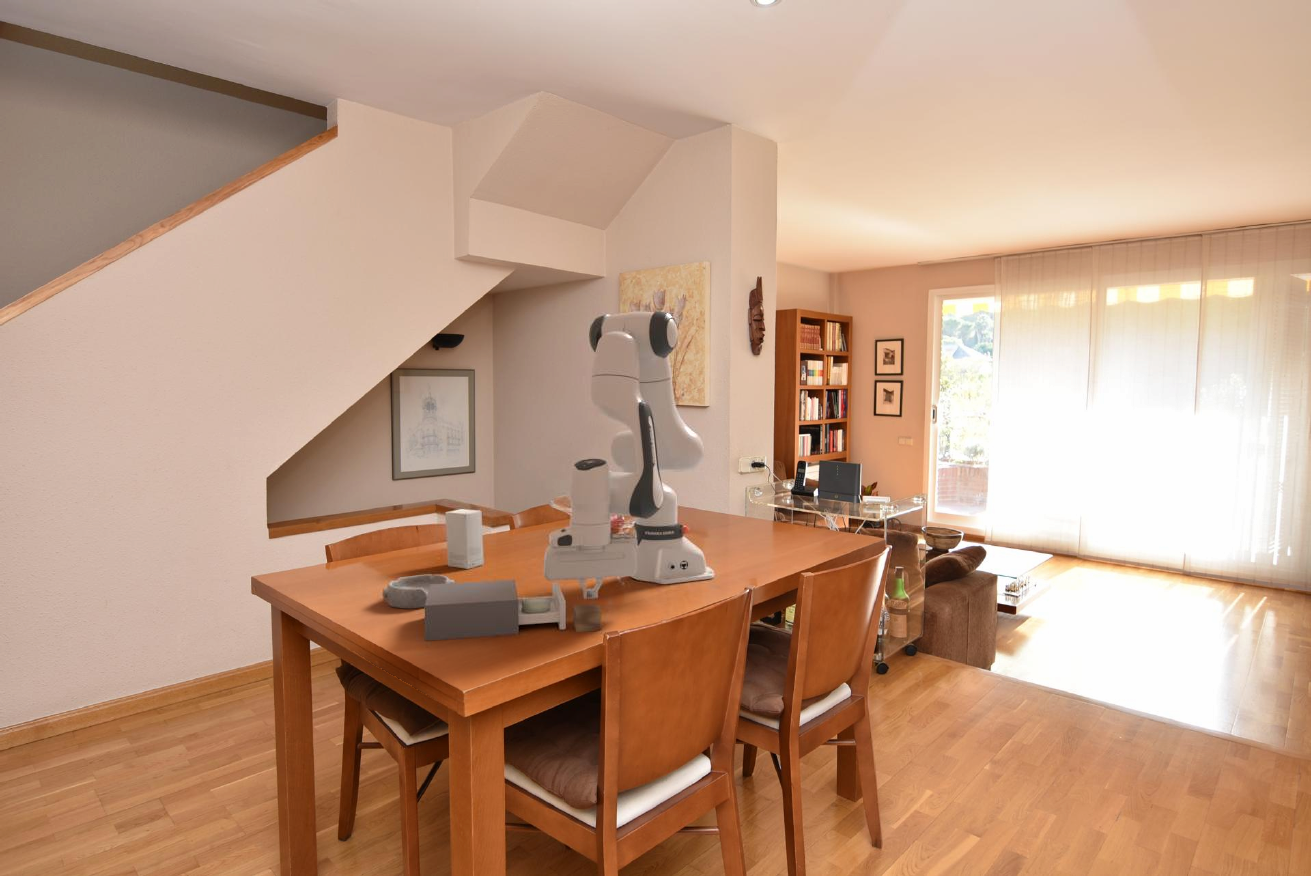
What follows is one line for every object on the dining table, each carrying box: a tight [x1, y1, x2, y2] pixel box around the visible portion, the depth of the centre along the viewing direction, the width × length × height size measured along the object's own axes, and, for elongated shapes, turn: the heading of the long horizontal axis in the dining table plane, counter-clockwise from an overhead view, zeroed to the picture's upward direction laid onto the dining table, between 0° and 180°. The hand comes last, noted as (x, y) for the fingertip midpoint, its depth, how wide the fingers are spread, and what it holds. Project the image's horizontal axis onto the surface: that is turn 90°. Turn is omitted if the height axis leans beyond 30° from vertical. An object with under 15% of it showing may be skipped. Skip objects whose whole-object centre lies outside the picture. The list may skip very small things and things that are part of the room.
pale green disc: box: [522, 596, 550, 614], centre depth 153 cm, size 6×6×2 cm
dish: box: [382, 573, 455, 609], centre depth 167 cm, size 14×14×5 cm
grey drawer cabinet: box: [424, 579, 520, 642], centre depth 150 cm, size 18×16×7 cm
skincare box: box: [444, 508, 484, 570], centre depth 201 cm, size 8×7×16 cm
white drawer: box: [518, 581, 567, 630], centre depth 152 cm, size 18×16×6 cm
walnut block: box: [572, 603, 602, 633], centre depth 148 cm, size 5×5×4 cm
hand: (590, 597), depth 155 cm, fingers closed
